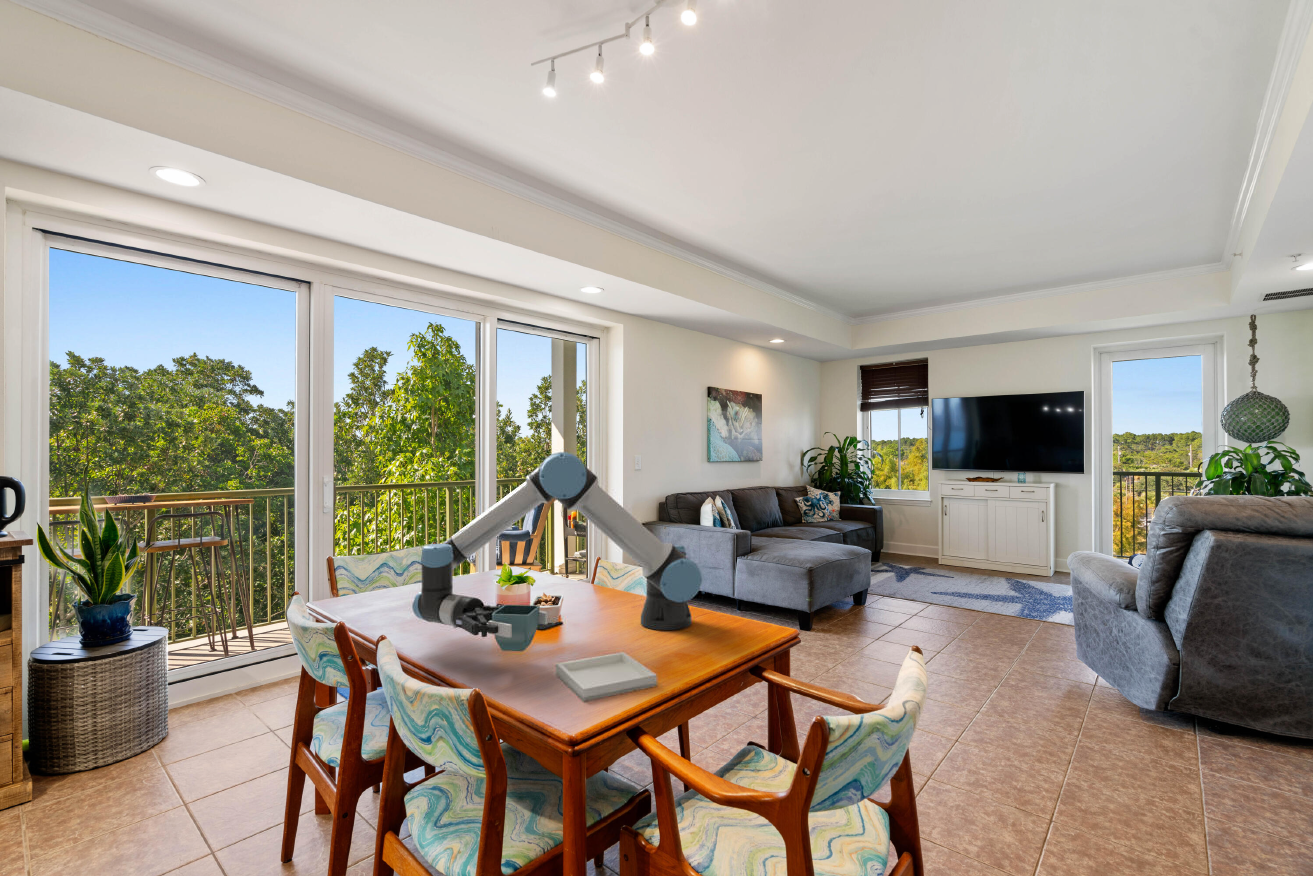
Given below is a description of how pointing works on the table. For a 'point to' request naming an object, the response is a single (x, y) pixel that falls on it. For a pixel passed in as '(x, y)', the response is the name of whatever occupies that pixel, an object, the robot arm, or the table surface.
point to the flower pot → (517, 625)
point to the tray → (605, 676)
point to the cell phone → (548, 625)
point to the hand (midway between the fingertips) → (529, 624)
